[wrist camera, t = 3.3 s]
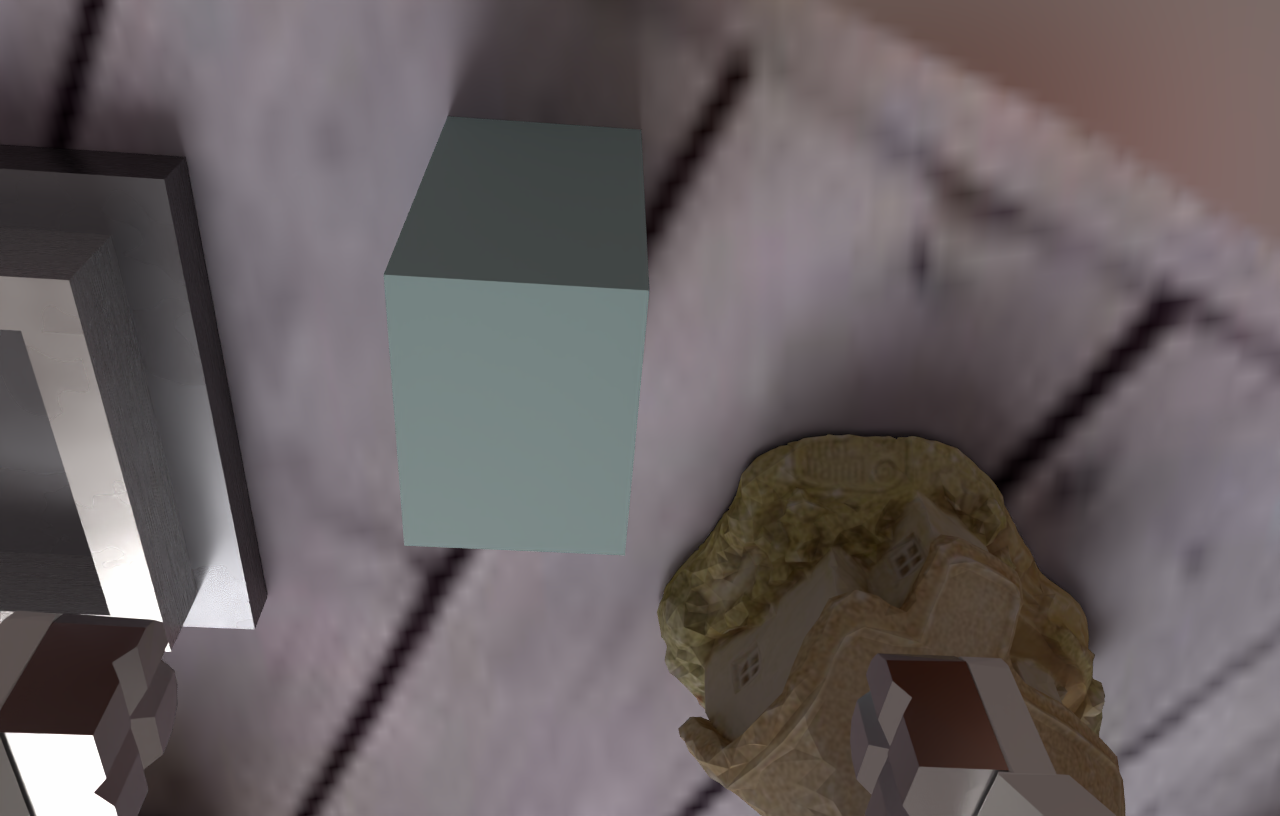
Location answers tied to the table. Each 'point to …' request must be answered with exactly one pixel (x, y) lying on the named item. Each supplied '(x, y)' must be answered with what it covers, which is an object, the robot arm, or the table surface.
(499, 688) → the table surface
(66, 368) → the collar socket
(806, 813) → the ceramic model
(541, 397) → the block
